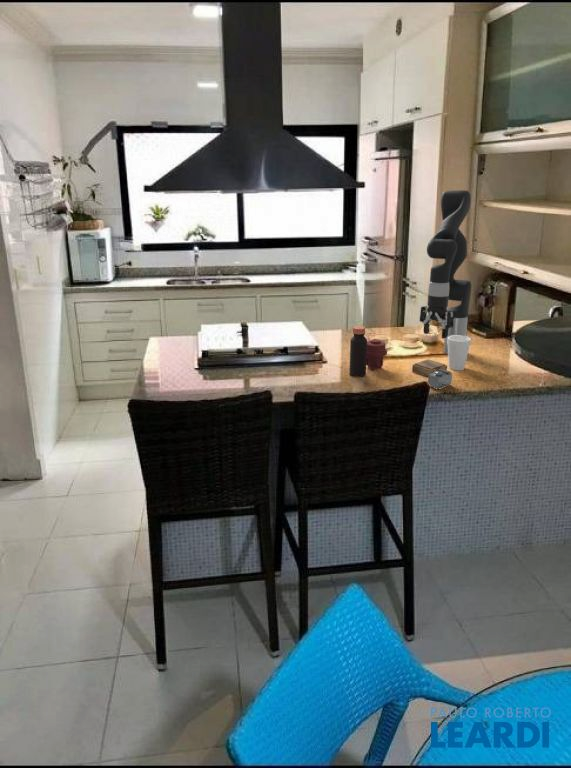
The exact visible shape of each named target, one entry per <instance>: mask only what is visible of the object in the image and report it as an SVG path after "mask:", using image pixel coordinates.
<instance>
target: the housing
mask: <svg viewBox="0 0 571 768" xmlns="http://www.w3.org/2000/svg"><path fill="white" fill-rule="evenodd" d="M452 378H453V373H452V371H449V370H448V369H447V370H444V369H438V371H435V373H432V374H429V377H428V376H427V379H428V382H427V384H428V383H429V384H430V386H431V387H435V388H437V389H439V388H442V387H444V386H448V385H450V384H451V385H452V381H453V379H452ZM451 385H450V386H451ZM431 387H430V388H431ZM448 387H449V386H448ZM437 389H436V390H437ZM442 389H443V388H442ZM439 390H440V389H439Z"/></svg>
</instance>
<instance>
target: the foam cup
mask: <svg viewBox="0 0 571 768" xmlns="http://www.w3.org/2000/svg"><path fill="white" fill-rule="evenodd" d="M471 341H472V338H471V337H469V336H468V335H467V336H461V335H452V336H449V337H448V338H447V344H448V354H447V357H448V359H447V360H448V369H450V370H454V371H464V369H465V367H466V363H467V359H468V355H469V350H470V347H471V344H472V342H471Z"/></svg>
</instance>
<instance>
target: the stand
mask: <svg viewBox="0 0 571 768" xmlns="http://www.w3.org/2000/svg"><path fill="white" fill-rule="evenodd" d="M438 369H444V370H447V371H448V365H447V364H445V363H441V362H438V361H437V360H436V361H435V360H432V359H425V360H422V361H419V362H415V363H414V364H412V373H416V374H418V375H422V376H424V377H425V376H426V377H427V378H428V377H429V374H432V373H435V371H438Z"/></svg>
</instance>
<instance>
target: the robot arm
mask: <svg viewBox="0 0 571 768" xmlns="http://www.w3.org/2000/svg"><path fill="white" fill-rule="evenodd" d="M471 201H472V200H471V192H470V191H468V190H465V189H464V190H463V189H461V190H460V189H458V190H453V189H452V190H444V191H443V192H442V194H441V197H440V209H441V216H442V217H441V218H442V221H441V223H440V224H439V226H438V230H437V233H435V235H434V236H433V237H432V238H431V239H430V240H429V242H428V243H427V246H426V253H427V256H428V257H429V258H431V259H436V260H437V259H438V260H439V259H440V260H444V263H441V264H434V265H433V266H431V269H430V274H429V285H428V293H427V303H426V304H427V305H425V306H421V307H420V311H419V312H420V313H419V322H420V323H422V324H423V330H422V331H423V334H425V335H428V334H429V333H430V327H431V326H430V323H431V321H436V322H438V323H439V324H440V326H441V328H442V330H441V339H444V342H443V353H444V354H446V355H448V344H447V338H448V337H449V336H452V335H461V336H467V337H468V332H467V330H468V329H467V327H468V318H469V311H470V309H469V307H470V301H471V294H472V282H471V281H470V280H465V279H455V275H456V272H457V271H458V270H459V268H460V267H461V265H462V264H463V263H464V261H466V258H467V255H468V243H467V242H468V241H467V238H466V236H465V235H464V234H463V232H462V231H461V230H460V227H461V225H462V223H464V222H463V221H464V220H465V218H466V216H467V215H468V213H469V212H470V209H471V203H472V202H471ZM449 301H453V302H460V304H458V305H455V306H452V307H449V308H448V306H449Z"/></svg>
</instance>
